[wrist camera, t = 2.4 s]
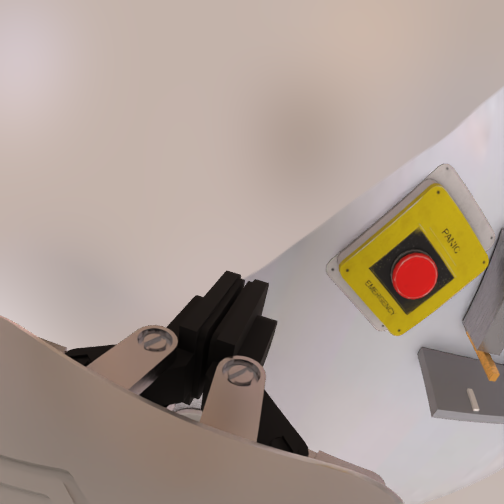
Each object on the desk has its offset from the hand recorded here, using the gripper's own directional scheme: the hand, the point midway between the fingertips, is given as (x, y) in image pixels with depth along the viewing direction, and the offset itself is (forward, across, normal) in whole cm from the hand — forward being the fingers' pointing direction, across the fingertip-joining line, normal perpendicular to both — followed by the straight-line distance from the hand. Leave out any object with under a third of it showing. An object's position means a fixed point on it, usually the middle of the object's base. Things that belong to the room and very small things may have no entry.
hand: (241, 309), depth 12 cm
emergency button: (+17, -11, +1) cm, 20 cm away
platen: (+16, -20, +1) cm, 26 cm away
